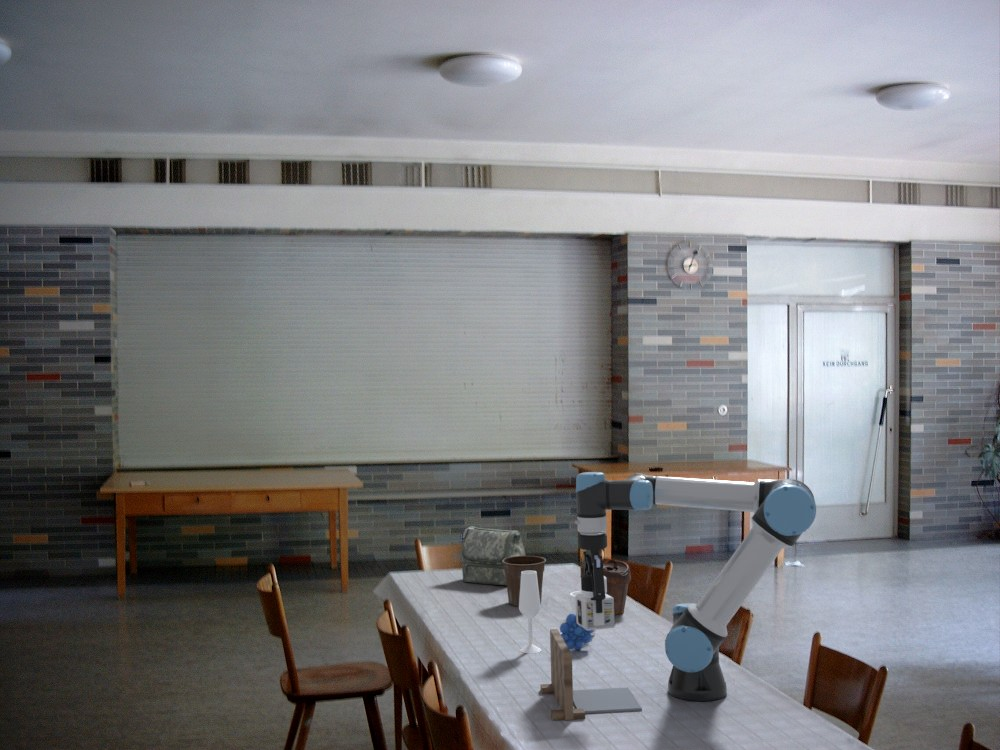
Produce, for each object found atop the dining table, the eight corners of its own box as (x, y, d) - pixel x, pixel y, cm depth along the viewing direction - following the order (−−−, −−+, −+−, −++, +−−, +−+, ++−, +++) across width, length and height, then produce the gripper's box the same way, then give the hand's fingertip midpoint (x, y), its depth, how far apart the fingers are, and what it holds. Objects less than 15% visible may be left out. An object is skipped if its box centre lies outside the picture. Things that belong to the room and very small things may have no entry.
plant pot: (547, 608, 351) (546, 563, 351) (502, 609, 352) (501, 564, 352) (546, 597, 368) (545, 555, 368) (503, 598, 368) (502, 556, 368)
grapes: (591, 644, 304) (590, 606, 304) (598, 650, 297) (597, 611, 297) (555, 647, 301) (554, 608, 301) (561, 653, 294) (560, 614, 294)
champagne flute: (528, 645, 304) (526, 568, 304) (546, 649, 299) (544, 571, 299) (515, 650, 298) (513, 572, 298) (532, 654, 294) (530, 575, 294)
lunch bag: (454, 582, 399) (453, 529, 399) (478, 574, 415) (477, 522, 415) (508, 588, 385) (507, 533, 385) (531, 579, 401) (530, 526, 401)
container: (586, 631, 246) (584, 579, 246) (576, 623, 253) (574, 573, 253) (615, 627, 248) (613, 576, 248) (603, 620, 255) (601, 571, 255)
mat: (642, 710, 244) (641, 707, 244) (578, 713, 242) (578, 711, 242) (627, 689, 260) (627, 687, 260) (568, 692, 258) (568, 690, 258)
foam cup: (598, 638, 310) (597, 597, 310) (569, 637, 312) (568, 596, 312) (601, 630, 320) (600, 590, 320) (573, 629, 321) (572, 590, 321)
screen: (585, 719, 239) (584, 653, 238) (553, 721, 238) (551, 655, 238) (569, 687, 262) (568, 628, 262) (540, 689, 262) (538, 629, 262)
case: (631, 604, 354) (629, 555, 354) (633, 618, 334) (631, 566, 334) (582, 605, 356) (580, 556, 356) (581, 619, 336) (579, 567, 336)
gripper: (570, 527, 261) (573, 612, 261) (585, 540, 240) (588, 632, 240) (598, 525, 262) (601, 610, 262) (615, 538, 241) (618, 630, 241)
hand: (595, 620), depth 251 cm, fingers closed on container, 8 cm apart
